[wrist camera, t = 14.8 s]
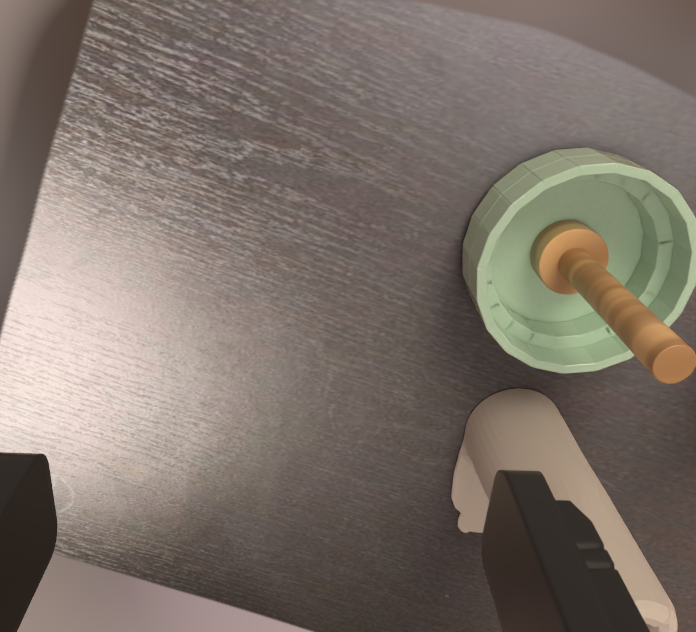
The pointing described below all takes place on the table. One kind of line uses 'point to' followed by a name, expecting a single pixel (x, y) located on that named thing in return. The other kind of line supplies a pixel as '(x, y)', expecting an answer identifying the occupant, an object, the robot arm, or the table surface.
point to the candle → (549, 484)
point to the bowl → (602, 217)
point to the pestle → (608, 297)
